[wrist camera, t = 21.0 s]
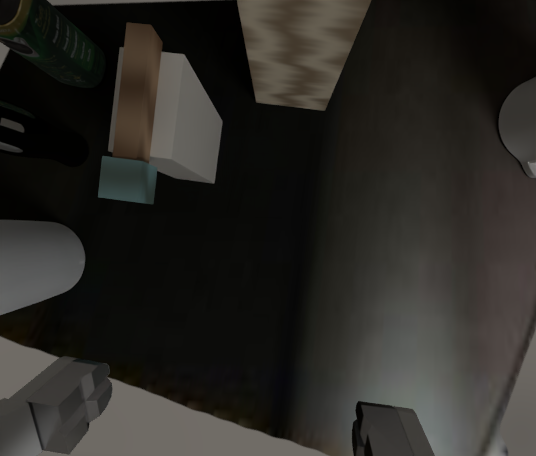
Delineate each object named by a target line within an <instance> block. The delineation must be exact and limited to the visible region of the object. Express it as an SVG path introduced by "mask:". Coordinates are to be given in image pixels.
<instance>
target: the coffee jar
mask: <svg viewBox="0 0 536 456" xmlns="http://www.w3.org/2000/svg"><path fill="white" fill-rule="evenodd" d="M0 42H1V43H3V44H4V45H6V46H7V47H9V48H10V49H12V50H13V51H15V52H16V53H18V54H19V55H21V56H22V57H24V58H25V59H27V60H28V61H30V62H31V63H33V64H34V65H36V66H37V67H39V68H40V69H42V70H43V71H44V72H46V73H47V74H49V75H50V76H52V77H54V78H55V79H57V80H58V81H60V82H62V83H65V84H68V85H71V86H76V87H81V88H94V87H96V86H97V85H99V83H100V82H101V81H102V79H103V77H104V73H105V68H106V59H105V55H104V53H103V51H102V50H101V49H100V48H99V47H98V46H97V45H96V44H95V43H94V42H93V41H92V40H90V39H89V38H88V37H87V36H86V35H85V34H84V33H83V32H81V31H80V30H79V29H78V28H77V27H76V26H74V25H73V24H72V23H71V22H70V21H69V20H68V19H67V18H66V17H64V16H63V15H62V14H61V13H60V12H59V11H58V10H57V9H56V8H55V7H53V6H52V5H51V4H50V3H49V2H48V1H47V0H0Z"/></svg>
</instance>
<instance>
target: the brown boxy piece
mask: <svg viewBox="0 0 536 456" xmlns="http://www.w3.org/2000/svg"><path fill="white" fill-rule="evenodd" d="M370 2H371V0H237V3H238V9H239V14H240V19H241V24H242V30H243V35H244V40H245V45H246V51H247V56H248V61H249V66H250V72H251V77H252V82H253V87H254V93H255V98H256V102H258V103H266V104H274V105H282V106H291V107H299V108H307V109H315V110H323V111H325V109H326V106H327V104H328V102H329V99H330V97H331V95H332V92H333V90H334V87H335V85H336V83H337V80H338V78H339V76H340V73H341V71H342V69H343V66H344V64H345V61H346V59H347V57H348V54H349V52H350V50H351V47H352V45H353V42H354V40H355V38H356V35H357V33H358V31H359V28H360V26H361V23H362V21H363V19H364V16H365V14H366V12H367V9H368V7H369V5H370Z"/></svg>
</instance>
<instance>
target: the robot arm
mask: <svg viewBox="0 0 536 456" xmlns="http://www.w3.org/2000/svg"><path fill="white" fill-rule="evenodd" d="M499 132H500V136H501V139H502V141H503V143H504V145H505V146H506V148H507V149H508V150H509V151H510V153H511V154H513V155H514V156H515V157H516V158H517V159H518V160H519V161H520V162H521V164H522V166H523V169H524V171H525V173H526V174H527V175H528V176H529V177H531V178H536V76H535V77H534V78H532V79H530V80H528V81H526V82H524V83H522V84H521V85H519V86H518V87H516V88H515V89H514V90H513V91H512V92H511V93H510V94H509V95H508V97H507V98H506V100H505V101H504V103H503V105H502V108H501V111H500V115H499ZM109 373H110V371H109V366H108V364H105V363H100V362H95V361H89V360H84V359H79V358H72V357H66V356H64V357H62V358H59V359H57V360H56V361H55V362H54V363H52V364H51V365H50V366H49V367H47V368H46V369H45V370H44V371H42V372H41V373H40V374H39V375H38V376H36V377H35V378H34V379H33V380H31V381H30V382H29V383H28V384H26V385H25V386H24V387H23V388H22V389H20V390H19V391H18V392H17V393H15V394H14V395H13V396H12V397H11V398H9V399H5V398H4V399H2V400H0V456H38V455H39V454H40V453H42V450H45V451H51V452H57V453H64V454H70V453H71V451H72V450H73V449H74V448H75V447H76V445H77V444H78V443H79V442H80V440H81V439H82V438H83V436H84V435H85V434H86V432H87V431H88V428H89V422H91V421H93V420H94V419H95V418H97V417H99V416H100V415H101V414H102V412H103V411H104V410H105V408H106V407H107V405H108V402H109V400H110V398H111V394H112V383H111V382H110V380H109V379H108V378H107V376H108V374H109ZM355 411H356V416H357V420H355V421H354V422H353V428H352V446H353V454H354V456H435V455H434V453H433V451H432V448H431V446H430V444H429V442H428V440H427V437H426V435H425V433H424V431H423V428H422V426H421V424H420V422H419V419H418V417H417V415H416V413H415V412H414V411H413V409H408V408H402V407H395V406H394V407H393V406H390V405H382V404H375V403H368V402H361V401H358V403H357V405H356V410H355Z"/></svg>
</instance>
